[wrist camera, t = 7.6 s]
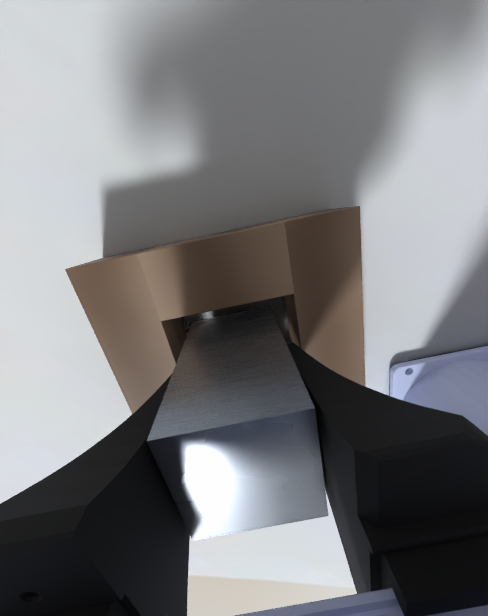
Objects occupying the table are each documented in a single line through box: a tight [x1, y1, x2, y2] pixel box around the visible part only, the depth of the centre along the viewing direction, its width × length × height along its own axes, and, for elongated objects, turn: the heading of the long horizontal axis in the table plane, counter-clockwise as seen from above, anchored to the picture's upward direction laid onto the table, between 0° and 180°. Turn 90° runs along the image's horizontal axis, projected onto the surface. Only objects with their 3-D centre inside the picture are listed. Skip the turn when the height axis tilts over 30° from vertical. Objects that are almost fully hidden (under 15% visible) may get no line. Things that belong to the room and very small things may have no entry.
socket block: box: [65, 206, 365, 414], centre depth 13 cm, size 12×12×3 cm
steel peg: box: [147, 306, 328, 541], centre depth 10 cm, size 4×4×7 cm
